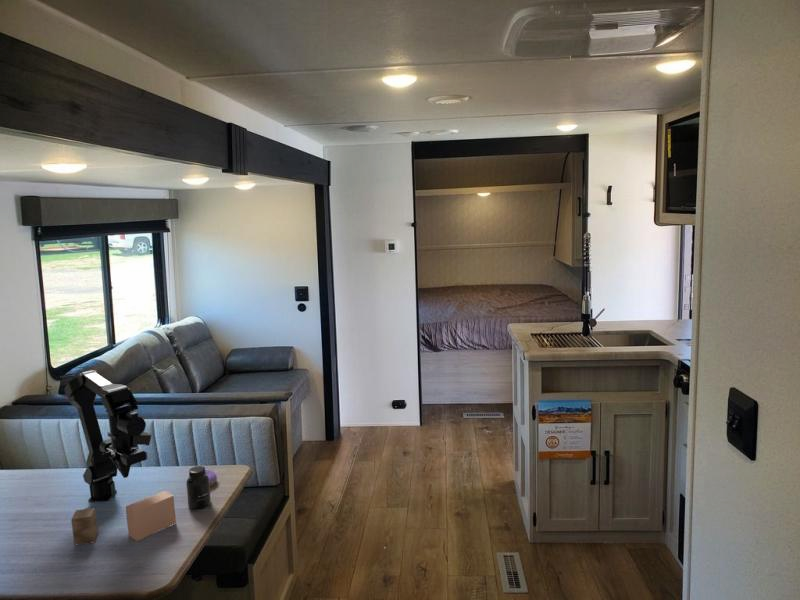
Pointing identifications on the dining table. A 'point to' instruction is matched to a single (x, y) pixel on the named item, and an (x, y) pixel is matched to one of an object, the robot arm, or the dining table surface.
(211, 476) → the donut
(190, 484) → the supplement bottle
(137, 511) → the terracotta block
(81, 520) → the walnut block
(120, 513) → the dining table surface
